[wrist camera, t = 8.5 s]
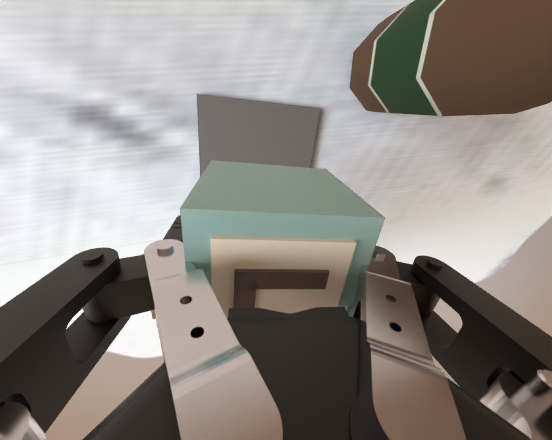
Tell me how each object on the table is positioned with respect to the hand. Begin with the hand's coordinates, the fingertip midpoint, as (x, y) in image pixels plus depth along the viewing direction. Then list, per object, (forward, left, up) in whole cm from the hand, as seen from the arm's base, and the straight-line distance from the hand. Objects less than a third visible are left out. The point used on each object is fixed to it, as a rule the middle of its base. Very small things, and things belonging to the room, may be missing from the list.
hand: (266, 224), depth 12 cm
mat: (0, 0, -15) cm, 15 cm away
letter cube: (0, 0, -1) cm, 1 cm away
